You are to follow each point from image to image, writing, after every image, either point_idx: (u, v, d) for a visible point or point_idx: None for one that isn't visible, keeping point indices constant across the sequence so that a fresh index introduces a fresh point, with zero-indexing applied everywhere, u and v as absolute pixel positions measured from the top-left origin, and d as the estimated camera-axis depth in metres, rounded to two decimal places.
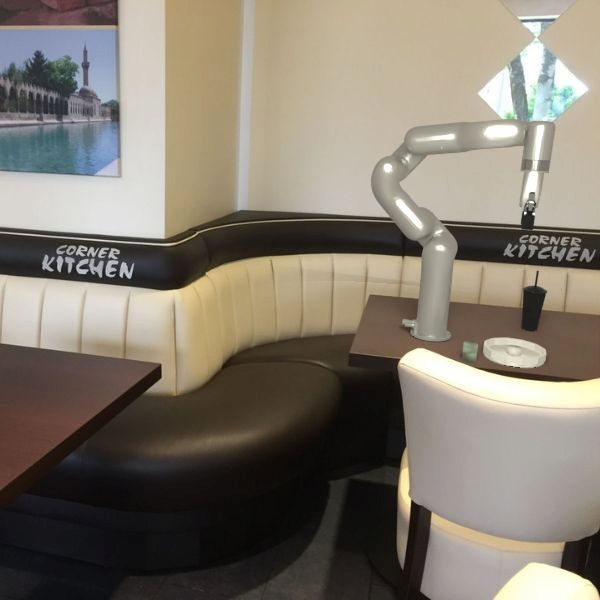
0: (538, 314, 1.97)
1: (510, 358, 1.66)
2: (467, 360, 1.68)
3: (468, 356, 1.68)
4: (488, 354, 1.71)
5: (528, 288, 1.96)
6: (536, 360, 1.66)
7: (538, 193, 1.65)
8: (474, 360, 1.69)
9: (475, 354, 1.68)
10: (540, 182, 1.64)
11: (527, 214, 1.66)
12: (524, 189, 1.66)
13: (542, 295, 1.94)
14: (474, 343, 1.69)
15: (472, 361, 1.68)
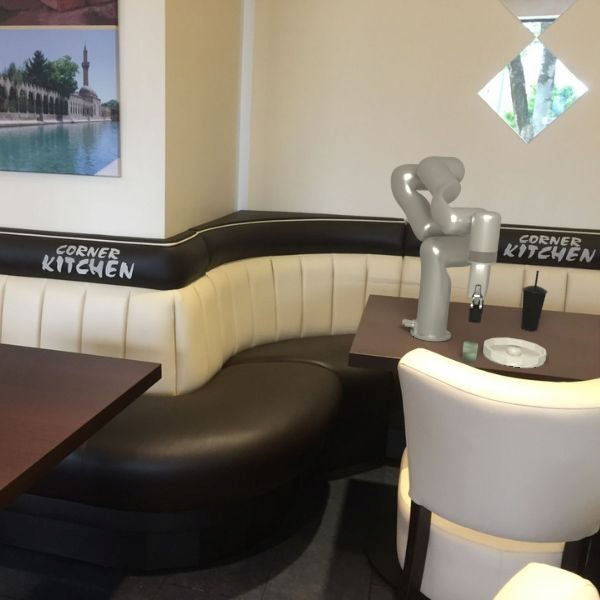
0: (538, 314, 1.97)
1: (510, 358, 1.66)
2: (467, 360, 1.68)
3: (468, 356, 1.68)
4: (488, 354, 1.71)
5: (528, 288, 1.96)
6: (536, 360, 1.66)
7: (484, 286, 1.59)
8: (474, 360, 1.69)
9: (475, 354, 1.68)
10: (486, 275, 1.58)
11: (474, 307, 1.60)
12: (470, 281, 1.60)
13: (542, 295, 1.94)
14: (474, 343, 1.69)
15: (472, 361, 1.68)
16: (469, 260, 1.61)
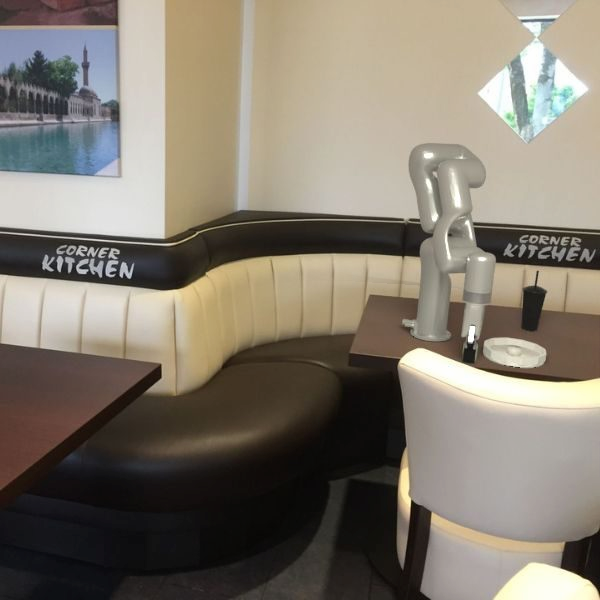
0: (538, 314, 1.97)
1: (510, 358, 1.66)
2: None
3: None
4: (488, 354, 1.71)
5: (528, 288, 1.96)
6: (536, 360, 1.66)
7: (478, 326, 1.62)
8: None
9: (475, 354, 1.68)
10: (480, 315, 1.62)
11: (468, 348, 1.66)
12: (465, 321, 1.63)
13: (542, 295, 1.94)
14: None
15: None
16: (464, 300, 1.65)
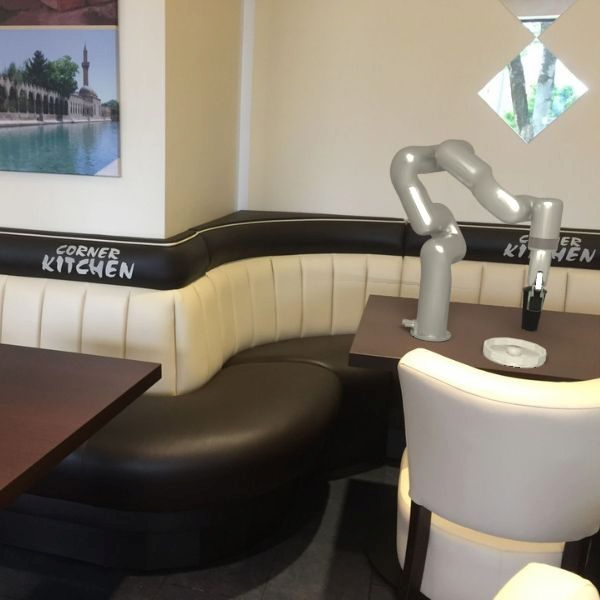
0: (538, 314, 1.97)
1: (510, 358, 1.66)
2: None
3: None
4: (488, 354, 1.71)
5: (528, 288, 1.96)
6: (536, 360, 1.66)
7: (546, 272, 1.60)
8: None
9: None
10: (548, 261, 1.59)
11: (534, 296, 1.63)
12: (532, 268, 1.61)
13: None
14: None
15: None
16: (530, 247, 1.62)
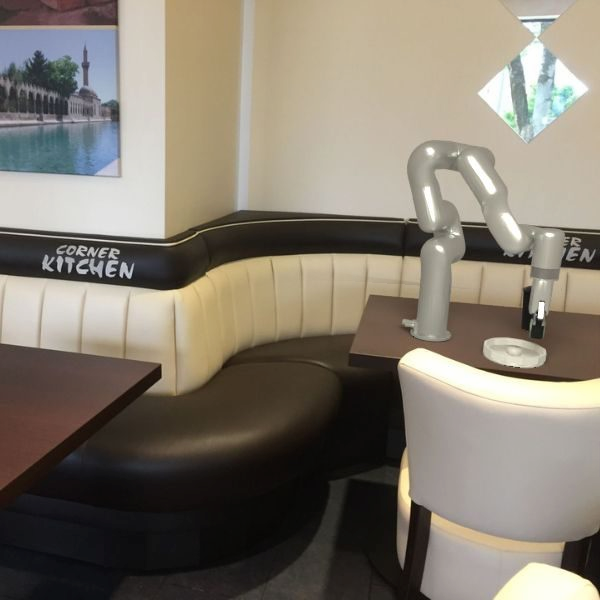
0: None
1: (510, 358, 1.66)
2: None
3: None
4: (488, 354, 1.71)
5: (528, 288, 1.96)
6: (536, 360, 1.66)
7: (548, 302, 1.62)
8: None
9: None
10: (550, 291, 1.62)
11: (536, 324, 1.66)
12: (534, 297, 1.63)
13: None
14: None
15: None
16: (532, 276, 1.65)
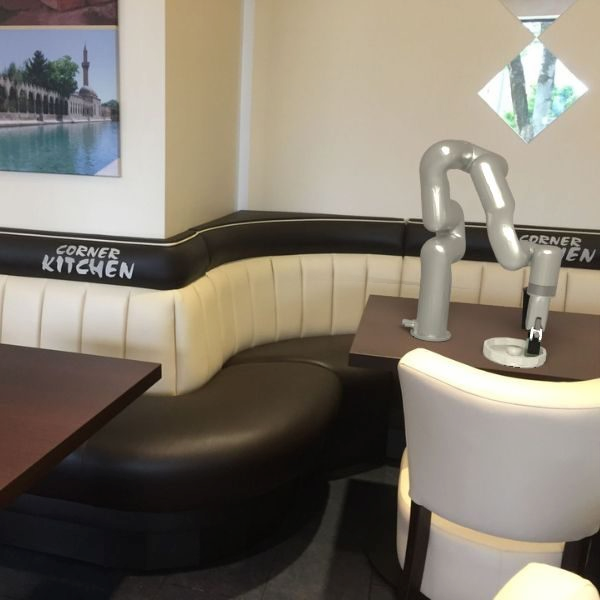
0: None
1: (510, 358, 1.66)
2: (530, 356, 1.70)
3: None
4: (488, 354, 1.71)
5: None
6: (536, 360, 1.66)
7: (545, 318, 1.64)
8: None
9: None
10: (547, 308, 1.63)
11: (533, 340, 1.66)
12: (531, 314, 1.65)
13: None
14: None
15: None
16: (529, 293, 1.66)
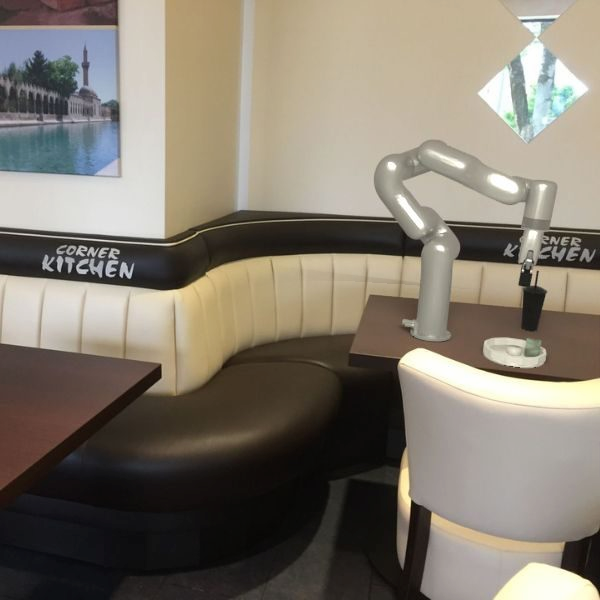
0: (538, 314, 1.97)
1: (510, 358, 1.66)
2: (530, 356, 1.70)
3: (531, 353, 1.70)
4: (488, 354, 1.71)
5: (528, 288, 1.96)
6: (536, 360, 1.66)
7: (536, 252, 1.66)
8: None
9: (539, 350, 1.70)
10: (539, 241, 1.66)
11: (524, 272, 1.68)
12: (523, 247, 1.67)
13: (542, 295, 1.94)
14: (537, 340, 1.71)
15: None
16: (523, 227, 1.69)
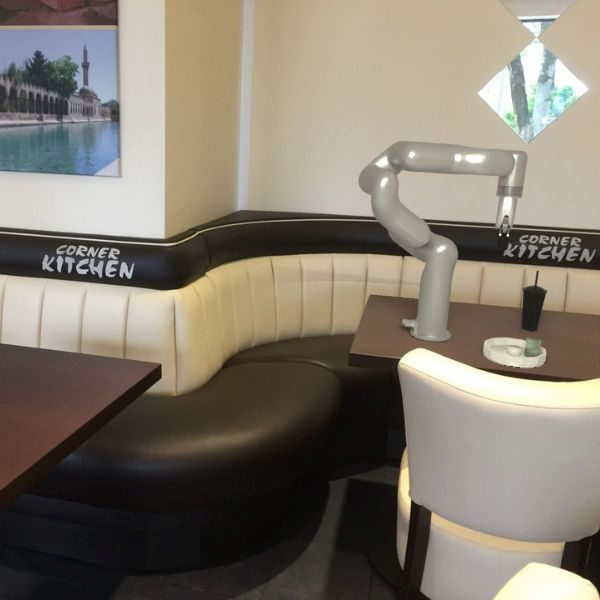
0: (538, 314, 1.97)
1: (510, 358, 1.66)
2: (530, 356, 1.70)
3: (531, 353, 1.70)
4: (488, 354, 1.71)
5: (528, 288, 1.96)
6: (536, 360, 1.66)
7: (512, 216, 1.80)
8: None
9: (539, 350, 1.70)
10: (513, 206, 1.79)
11: (502, 236, 1.81)
12: (499, 213, 1.81)
13: (542, 295, 1.94)
14: (537, 340, 1.71)
15: None
16: (498, 194, 1.82)
